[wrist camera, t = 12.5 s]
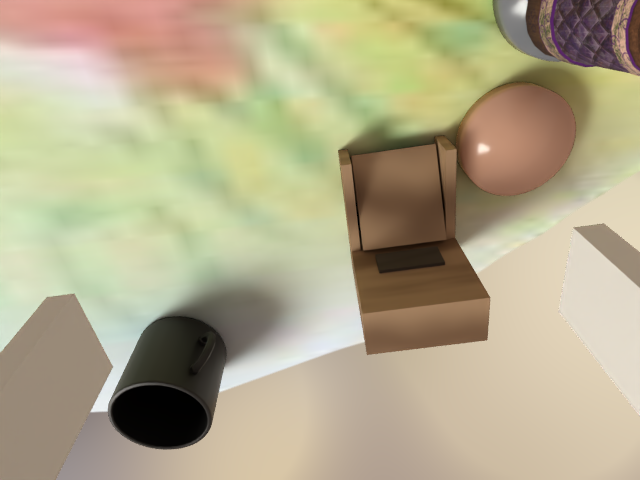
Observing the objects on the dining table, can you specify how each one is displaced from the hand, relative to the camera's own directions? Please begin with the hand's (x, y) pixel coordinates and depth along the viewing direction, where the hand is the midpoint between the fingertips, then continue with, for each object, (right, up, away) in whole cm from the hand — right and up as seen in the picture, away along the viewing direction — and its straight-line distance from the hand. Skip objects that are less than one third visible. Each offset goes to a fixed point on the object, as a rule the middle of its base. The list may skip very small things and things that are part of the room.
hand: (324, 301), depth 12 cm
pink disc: (+16, +10, +25) cm, 32 cm away
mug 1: (-14, -9, +36) cm, 40 cm away
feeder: (+7, +5, +28) cm, 29 cm away
